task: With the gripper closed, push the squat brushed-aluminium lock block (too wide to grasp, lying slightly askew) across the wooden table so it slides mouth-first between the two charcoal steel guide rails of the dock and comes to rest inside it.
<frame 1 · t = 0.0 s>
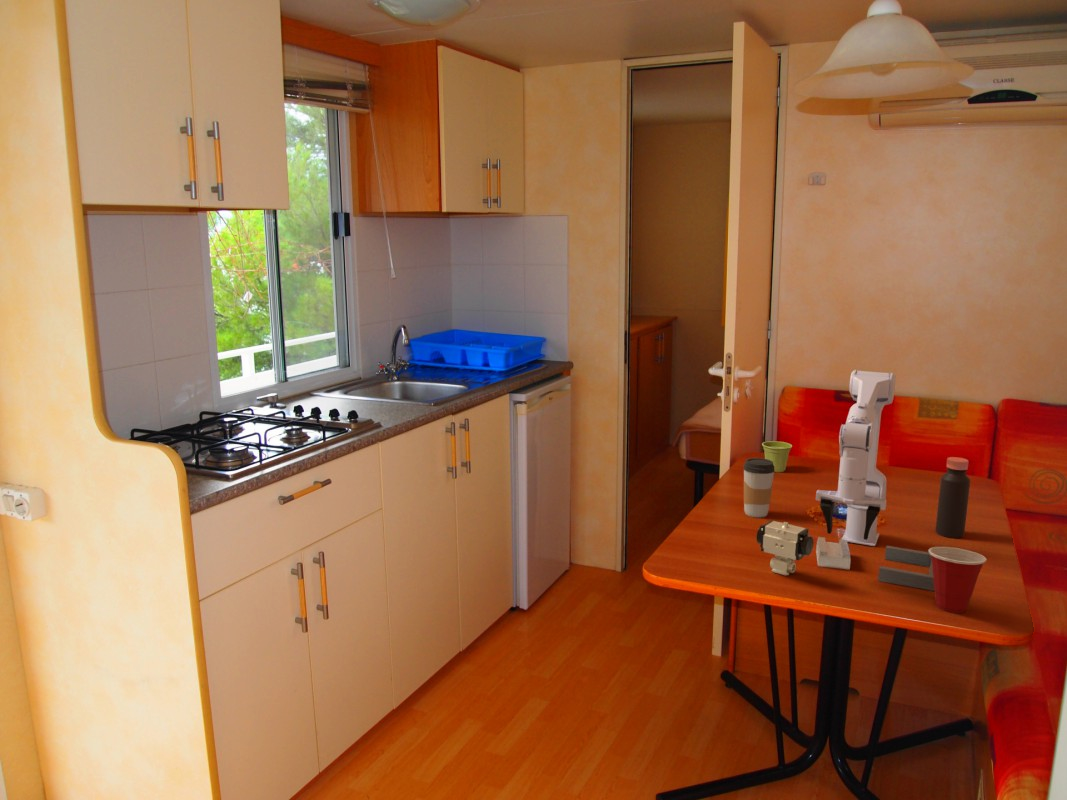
hand: (847, 535, 190), 10 cm above the table, fingers open, 7 cm apart
bottle: (949, 534, 221), on the table
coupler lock: (832, 561, 202), on the table
dock: (905, 572, 195), on the table
plant pot: (775, 470, 279), on the table
plastic cup: (951, 607, 178), on the table
coffee cup: (755, 514, 235), on the table
pneumatic valve: (781, 573, 194), on the table
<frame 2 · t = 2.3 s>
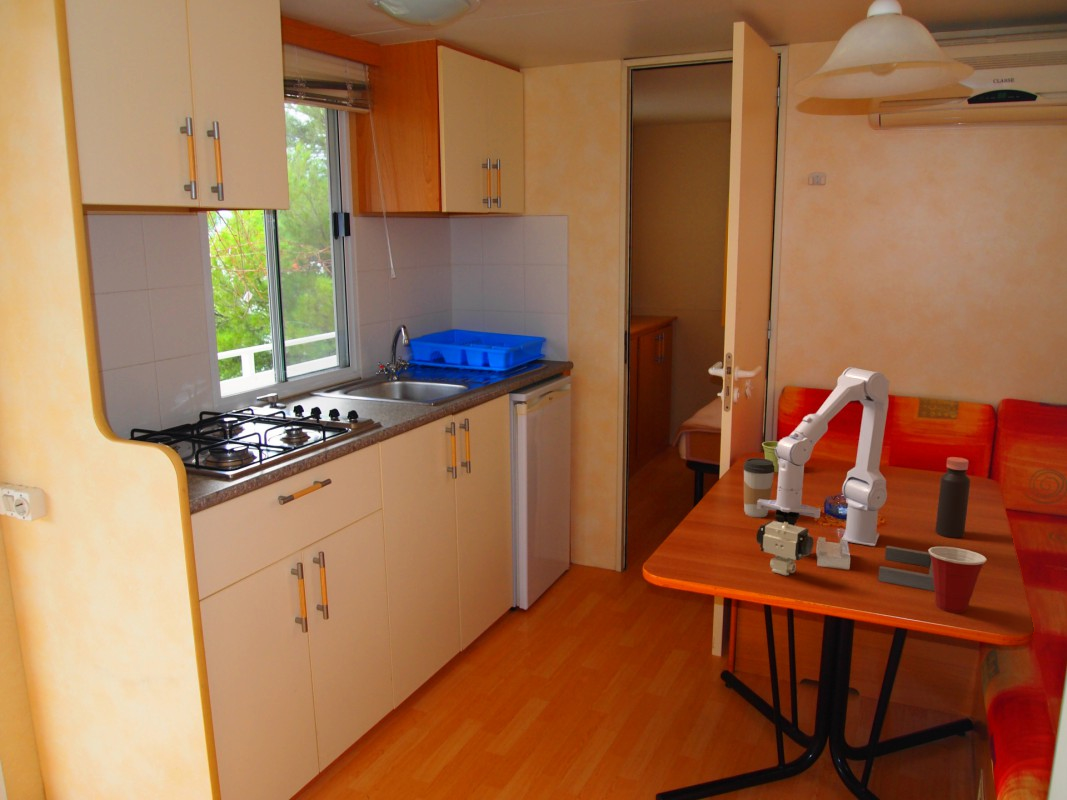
hand: (785, 540, 207), 3 cm above the table, fingers closed
nothing on the table moved.
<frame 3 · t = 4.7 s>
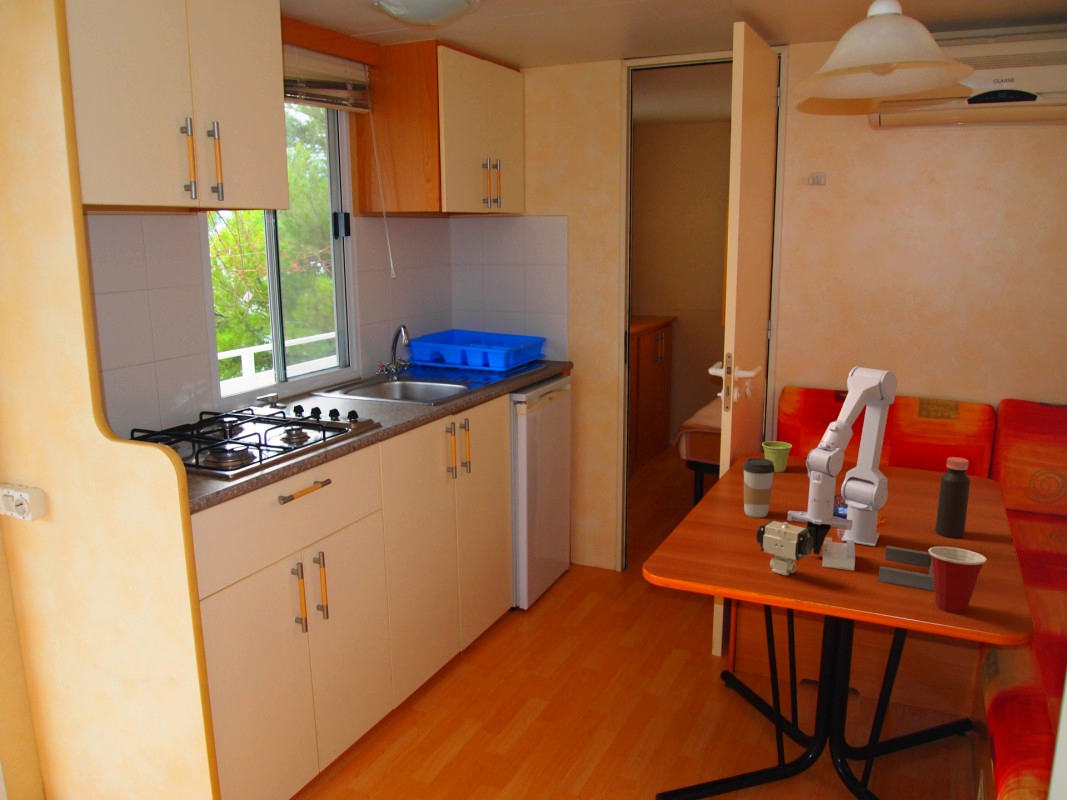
hand: (816, 553, 204), 1 cm above the table, fingers closed
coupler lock: (838, 561, 202), on the table, touching gripper
everything else where it was.
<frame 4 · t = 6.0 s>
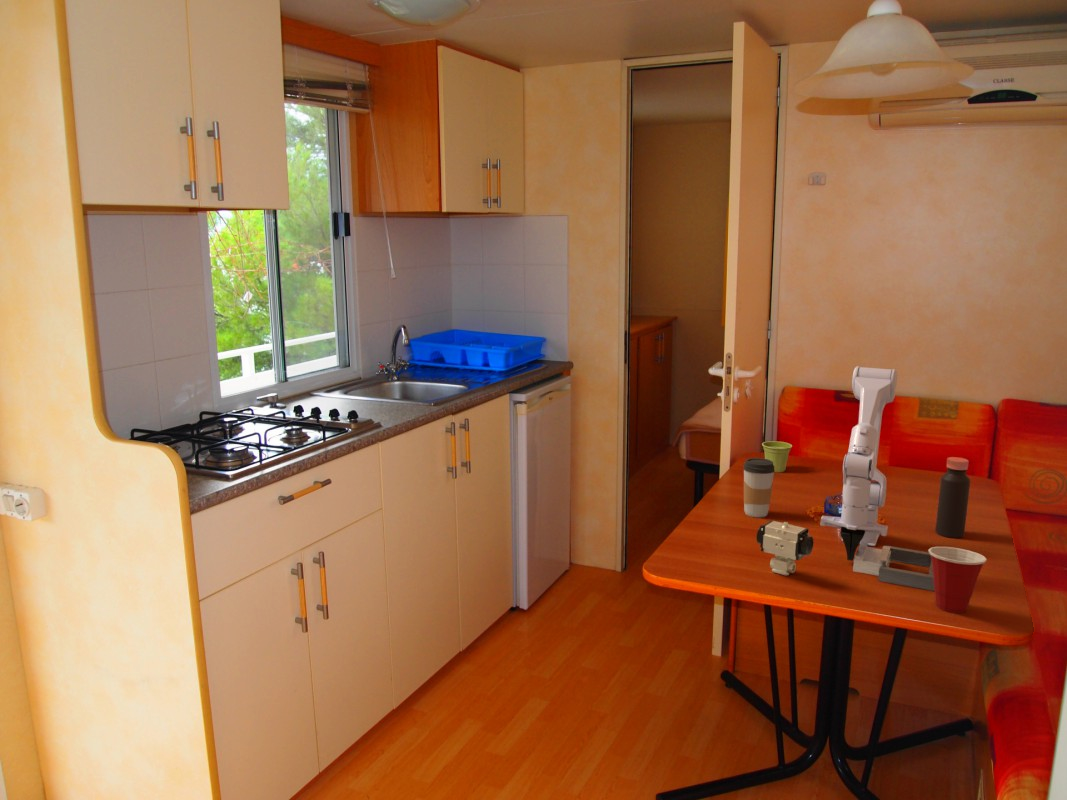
hand: (850, 559, 200), 1 cm above the table, fingers closed
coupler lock: (871, 567, 199), on the table, touching gripper
everything else where it was.
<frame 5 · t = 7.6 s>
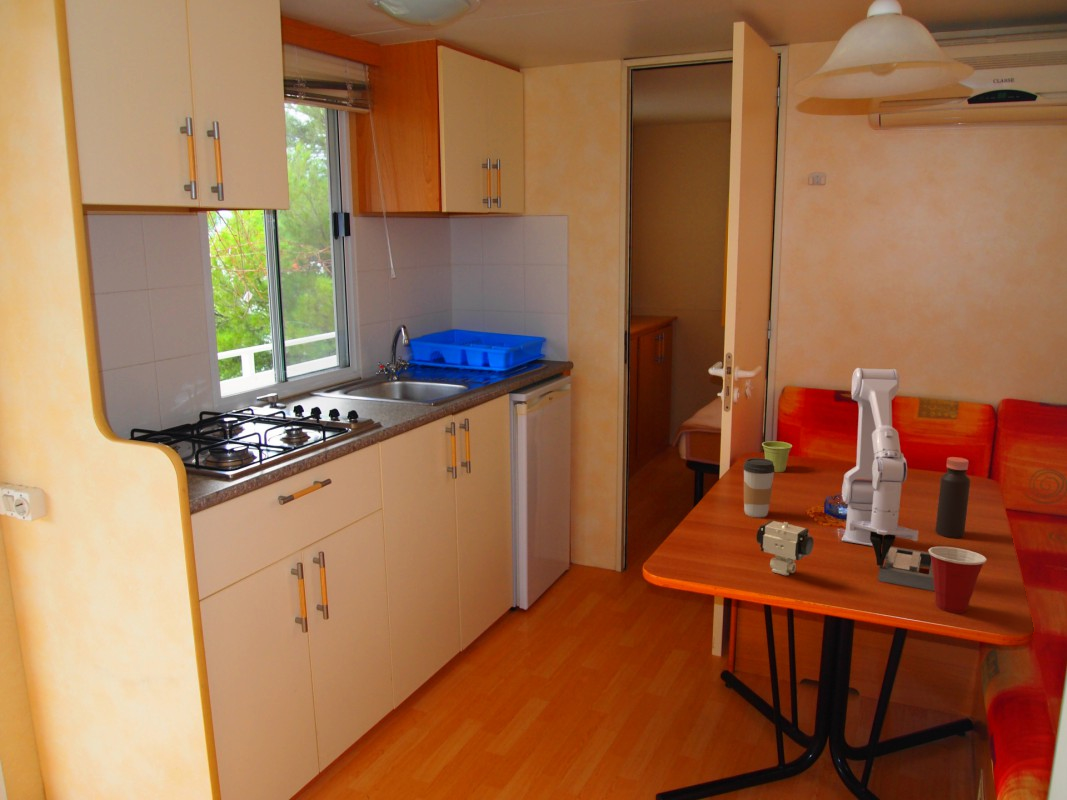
hand: (880, 564, 197), 1 cm above the table, fingers closed
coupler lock: (901, 573, 196), on the table, touching gripper
everything else where it was.
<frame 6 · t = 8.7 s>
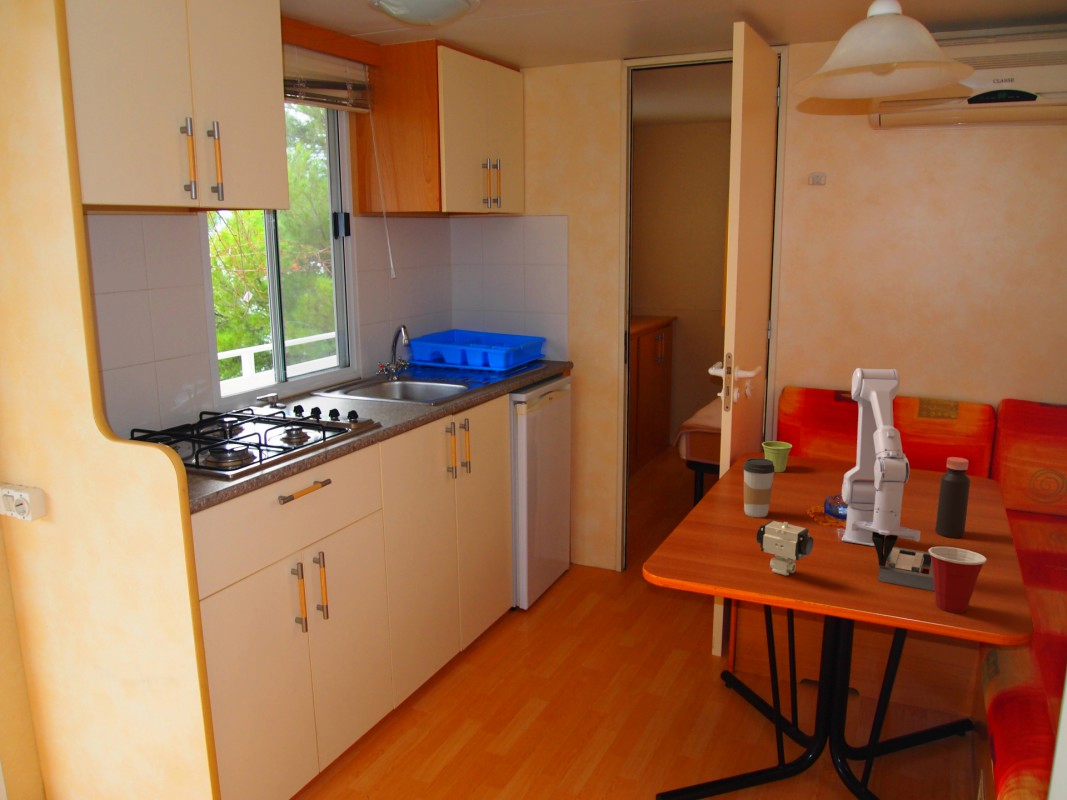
hand: (882, 564, 197), 1 cm above the table, fingers closed
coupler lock: (904, 574, 195), on the table
everything else where it was.
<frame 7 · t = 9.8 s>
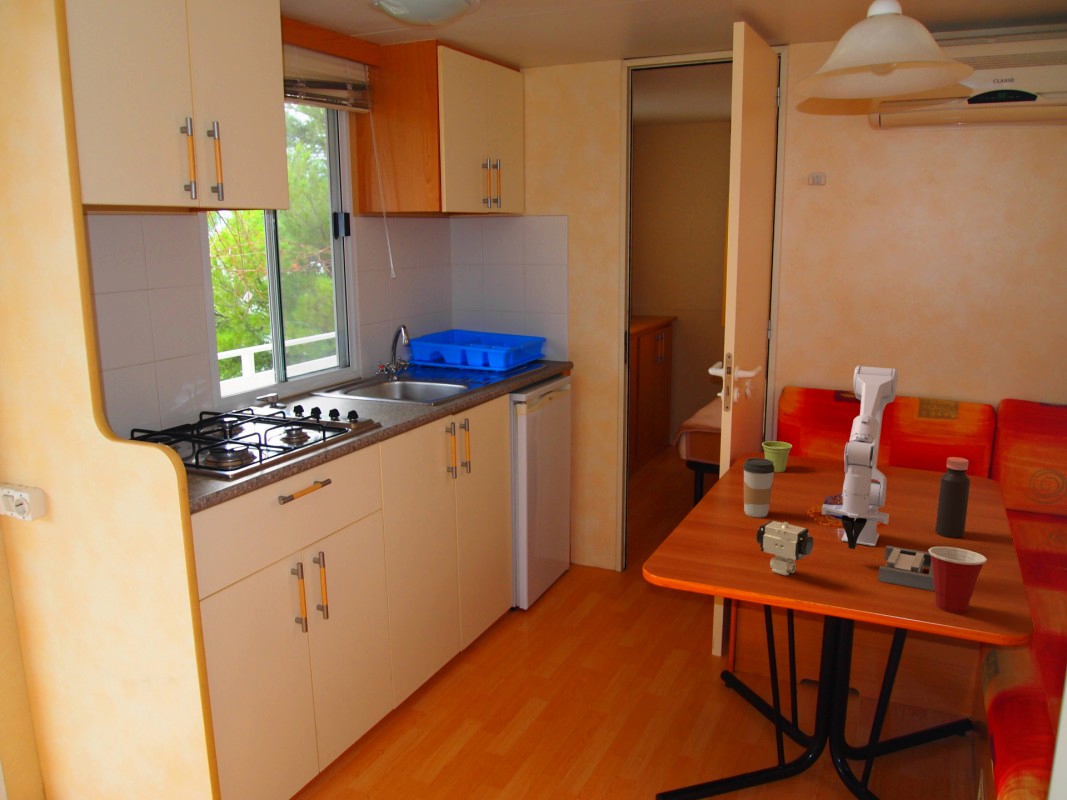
hand: (852, 547, 200), 4 cm above the table, fingers closed
nothing on the table moved.
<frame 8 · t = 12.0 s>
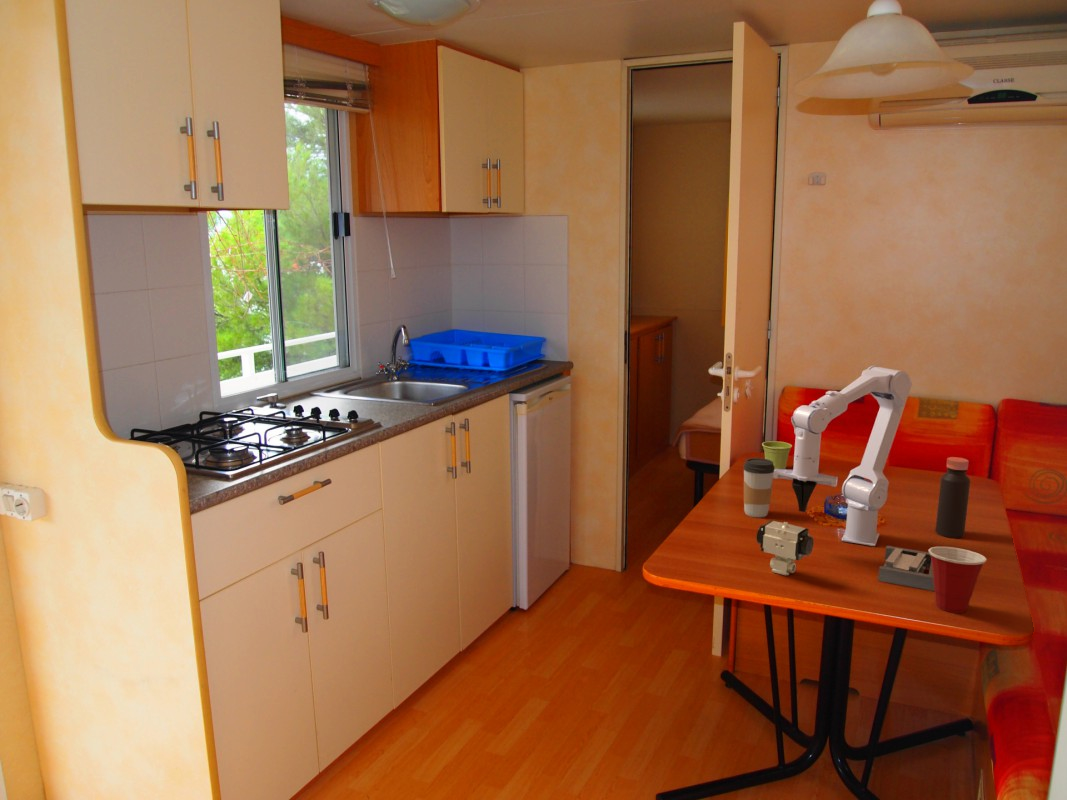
hand: (802, 510, 206), 10 cm above the table, fingers closed
nothing on the table moved.
at the end: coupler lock 0.5 cm off-centre on the dock, point 0.0 cm above the dock's base; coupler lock tilted 0° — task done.
